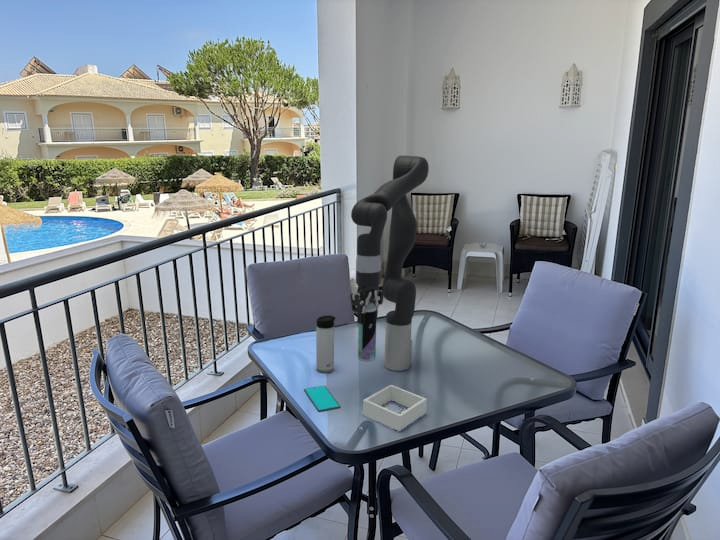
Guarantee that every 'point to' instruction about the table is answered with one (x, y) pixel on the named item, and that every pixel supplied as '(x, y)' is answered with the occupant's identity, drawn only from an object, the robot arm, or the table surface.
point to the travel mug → (325, 344)
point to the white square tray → (388, 417)
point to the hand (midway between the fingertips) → (367, 321)
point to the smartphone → (322, 398)
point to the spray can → (368, 334)
